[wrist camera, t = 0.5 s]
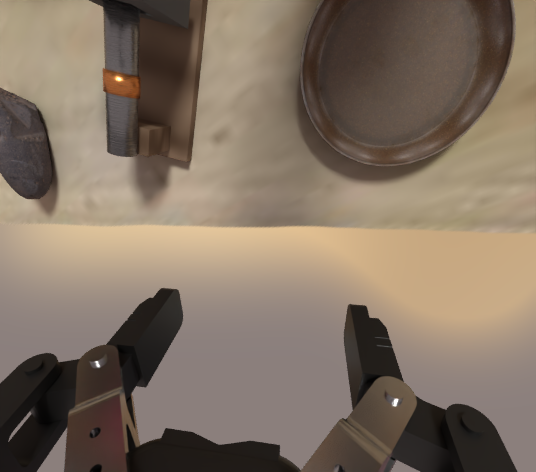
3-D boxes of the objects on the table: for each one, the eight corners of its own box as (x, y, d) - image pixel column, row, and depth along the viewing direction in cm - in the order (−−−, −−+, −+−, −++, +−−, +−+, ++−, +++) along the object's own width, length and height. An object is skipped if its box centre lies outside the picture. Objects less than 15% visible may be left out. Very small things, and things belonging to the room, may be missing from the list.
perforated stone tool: (67, 195, 45) (28, 210, 38) (36, 191, 45) (-8, 205, 39) (44, 88, 38) (-8, 85, 32) (8, 84, 39) (-50, 80, 32)
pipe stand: (121, -70, 30) (71, -116, 24) (212, -47, 30) (186, -88, 24) (122, 142, 40) (87, 149, 33) (191, 160, 39) (168, 170, 33)
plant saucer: (274, 12, 31) (271, 3, 29) (484, -104, 26) (506, -131, 23) (331, 183, 39) (333, 190, 36) (505, 122, 33) (524, 124, 30)
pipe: (114, -85, 25) (87, -112, 22) (151, -76, 25) (129, -101, 22) (117, 146, 34) (98, 151, 30) (144, 154, 33) (128, 159, 30)
